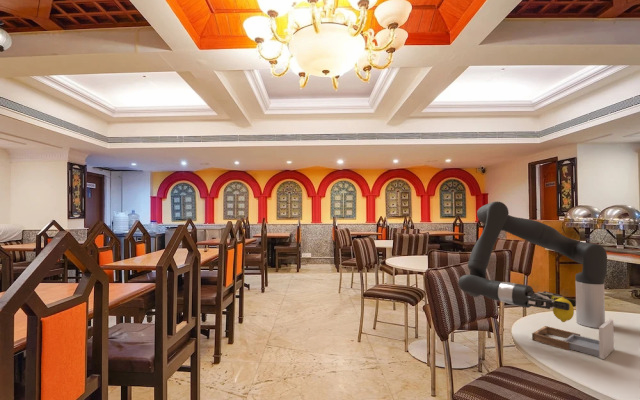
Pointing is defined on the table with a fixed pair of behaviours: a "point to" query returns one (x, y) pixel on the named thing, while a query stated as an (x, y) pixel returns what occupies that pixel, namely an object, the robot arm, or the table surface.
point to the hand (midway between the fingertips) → (572, 305)
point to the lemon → (564, 311)
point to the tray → (595, 341)
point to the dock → (551, 341)
